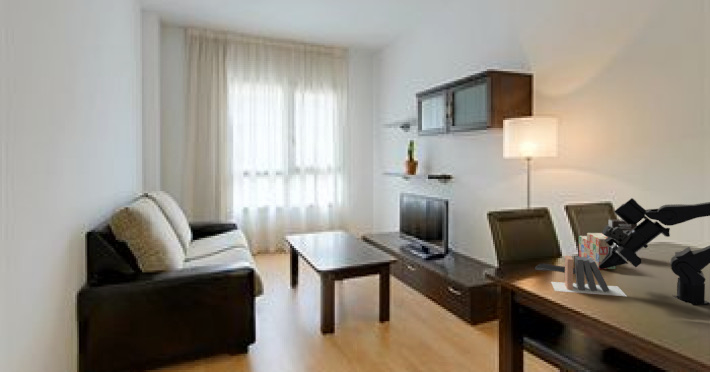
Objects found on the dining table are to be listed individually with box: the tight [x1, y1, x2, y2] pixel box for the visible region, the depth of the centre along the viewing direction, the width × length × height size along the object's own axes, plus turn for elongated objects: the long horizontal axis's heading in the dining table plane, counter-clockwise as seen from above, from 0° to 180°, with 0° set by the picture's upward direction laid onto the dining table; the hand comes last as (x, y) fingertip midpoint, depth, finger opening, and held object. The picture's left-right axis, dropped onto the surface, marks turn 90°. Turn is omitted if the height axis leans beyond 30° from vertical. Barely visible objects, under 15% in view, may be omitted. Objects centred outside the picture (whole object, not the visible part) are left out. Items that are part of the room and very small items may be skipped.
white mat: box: [550, 281, 627, 297], centre depth 130 cm, size 20×10×1 cm, turn 71°
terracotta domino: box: [564, 255, 574, 290], centre depth 132 cm, size 2×5×10 cm, turn 161°
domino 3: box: [588, 258, 609, 292], centre depth 129 cm, size 2×5×10 cm, turn 159°
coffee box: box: [608, 218, 638, 254], centre depth 171 cm, size 9×6×16 cm
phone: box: [534, 263, 576, 275], centre depth 154 cm, size 8×1×15 cm
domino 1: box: [574, 255, 586, 290], centre depth 131 cm, size 2×5×10 cm, turn 161°
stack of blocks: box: [578, 232, 617, 270], centre depth 164 cm, size 21×6×12 cm, turn 170°
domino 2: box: [581, 257, 597, 291], centre depth 130 cm, size 2×5×10 cm, turn 160°
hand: (599, 267), depth 129 cm, fingers closed
